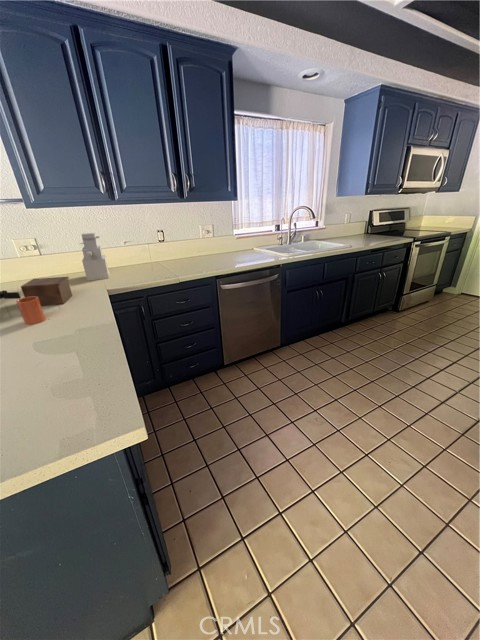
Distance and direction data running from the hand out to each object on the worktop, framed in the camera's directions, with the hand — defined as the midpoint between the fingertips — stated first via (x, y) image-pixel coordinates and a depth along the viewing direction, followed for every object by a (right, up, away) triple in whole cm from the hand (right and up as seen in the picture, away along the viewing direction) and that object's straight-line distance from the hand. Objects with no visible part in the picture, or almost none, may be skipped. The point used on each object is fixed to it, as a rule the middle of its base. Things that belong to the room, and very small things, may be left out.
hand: (7, 300), depth 110 cm
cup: (+9, -8, +4) cm, 13 cm away
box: (0, +2, +26) cm, 26 cm away
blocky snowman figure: (+2, +21, +69) cm, 72 cm away
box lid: (0, +11, +22) cm, 25 cm away
